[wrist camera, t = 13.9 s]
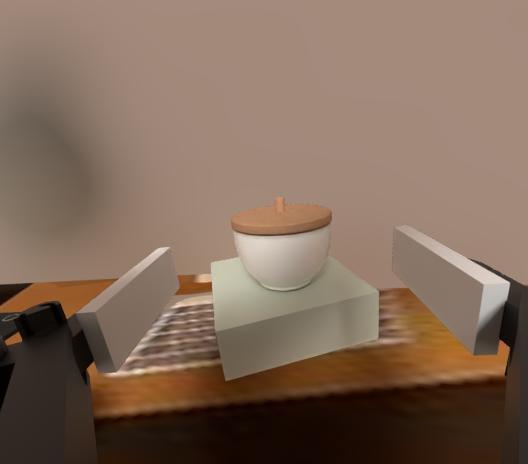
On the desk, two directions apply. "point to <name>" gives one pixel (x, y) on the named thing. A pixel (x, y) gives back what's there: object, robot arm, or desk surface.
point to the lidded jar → (283, 243)
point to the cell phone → (8, 324)
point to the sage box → (288, 317)
